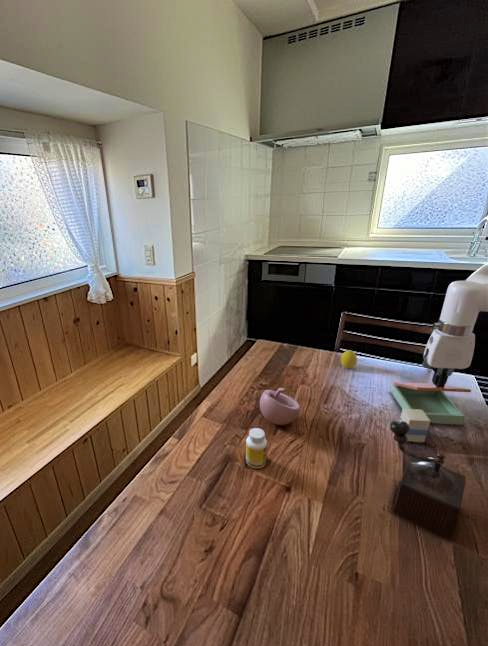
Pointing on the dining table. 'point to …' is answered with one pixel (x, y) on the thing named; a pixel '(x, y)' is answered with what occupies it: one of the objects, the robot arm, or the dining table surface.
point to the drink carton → (415, 424)
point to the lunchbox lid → (431, 387)
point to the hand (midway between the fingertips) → (437, 385)
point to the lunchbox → (429, 404)
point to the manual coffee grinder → (427, 489)
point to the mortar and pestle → (278, 407)
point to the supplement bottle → (256, 448)
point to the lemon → (348, 359)
